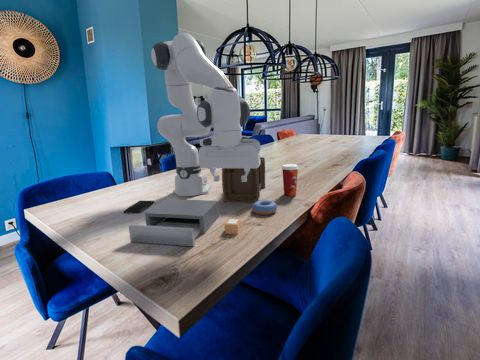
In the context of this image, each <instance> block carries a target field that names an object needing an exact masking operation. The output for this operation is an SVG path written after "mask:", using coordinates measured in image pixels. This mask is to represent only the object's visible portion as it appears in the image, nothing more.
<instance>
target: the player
mask: <svg viewBox="0 0 480 360" xmlns="http://www.w3.org/2000/svg"><path fill="white" fill-rule="evenodd" d="M219 210H220V209H219V200H210V199H209V200H206V199H205V200H203V199H182V198H181V199H178V198H177V199H176V198H175V199H172V198H166V199H164V200H162V201H160V202H159V203H158V204H156V205H155V206H153V207H152V208H150V209H148V210H147V211H146V212H144V216H145V218H144V219H145V225H148V226H155V225H156V224H157V223H159V222H164V221H165V220H166V219H167V218H170V219H171V218H173V219H187V220H188V219H189V220H199V224H200V233H199V234H201V235H205V234H206V233H207V232H208V230H209V229H210V228H211V227H212V225H214V223H215V222H216V221H217V220H218V219H219V218H220V211H219Z"/></svg>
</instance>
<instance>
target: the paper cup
mask: <svg viewBox="0 0 480 360" xmlns="http://www.w3.org/2000/svg"><path fill="white" fill-rule="evenodd" d="M281 169H282V182H283V185H282V186H283V194H284V196H285V197H286V196H287V197H294V196H296V195H297V186H298V170H299V167H298V164H295V163H286V164H283V165H282V167H281Z"/></svg>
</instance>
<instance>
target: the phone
mask: <svg viewBox="0 0 480 360" xmlns="http://www.w3.org/2000/svg"><path fill="white" fill-rule="evenodd" d="M153 203H154V204H155V200H138V201H137V202H135V203H134V204H131V205H130V206H129V207H128V208H125V209H124V210H123V212H122V213H123V214H128V215H129V214H130V215H132V214H133V215H135V214H136V215H137V214H138V215H139V214H142V213H144V211H146V210H147V209H148V208H149V207H151V206H152V205H154V204H153Z"/></svg>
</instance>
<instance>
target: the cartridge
mask: <svg viewBox="0 0 480 360" xmlns="http://www.w3.org/2000/svg"><path fill="white" fill-rule="evenodd" d="M241 230H242V221H241V218H227V220H226V221H225V223H224V234H226V235H227V234H229V235H239V233H240V231H241Z"/></svg>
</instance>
